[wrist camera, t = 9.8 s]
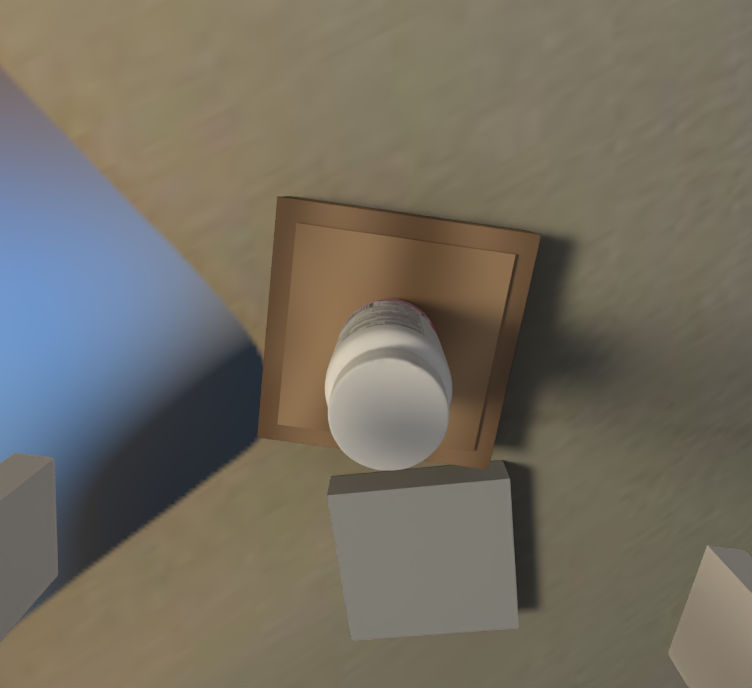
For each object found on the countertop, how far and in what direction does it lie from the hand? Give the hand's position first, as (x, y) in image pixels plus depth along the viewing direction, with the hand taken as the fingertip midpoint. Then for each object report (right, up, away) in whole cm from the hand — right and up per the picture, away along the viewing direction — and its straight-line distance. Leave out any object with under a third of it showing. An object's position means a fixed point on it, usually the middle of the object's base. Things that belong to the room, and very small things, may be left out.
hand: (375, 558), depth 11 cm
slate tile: (+3, -8, +21) cm, 23 cm away
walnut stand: (+1, +5, +18) cm, 18 cm away
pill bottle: (+1, +4, +15) cm, 15 cm away
